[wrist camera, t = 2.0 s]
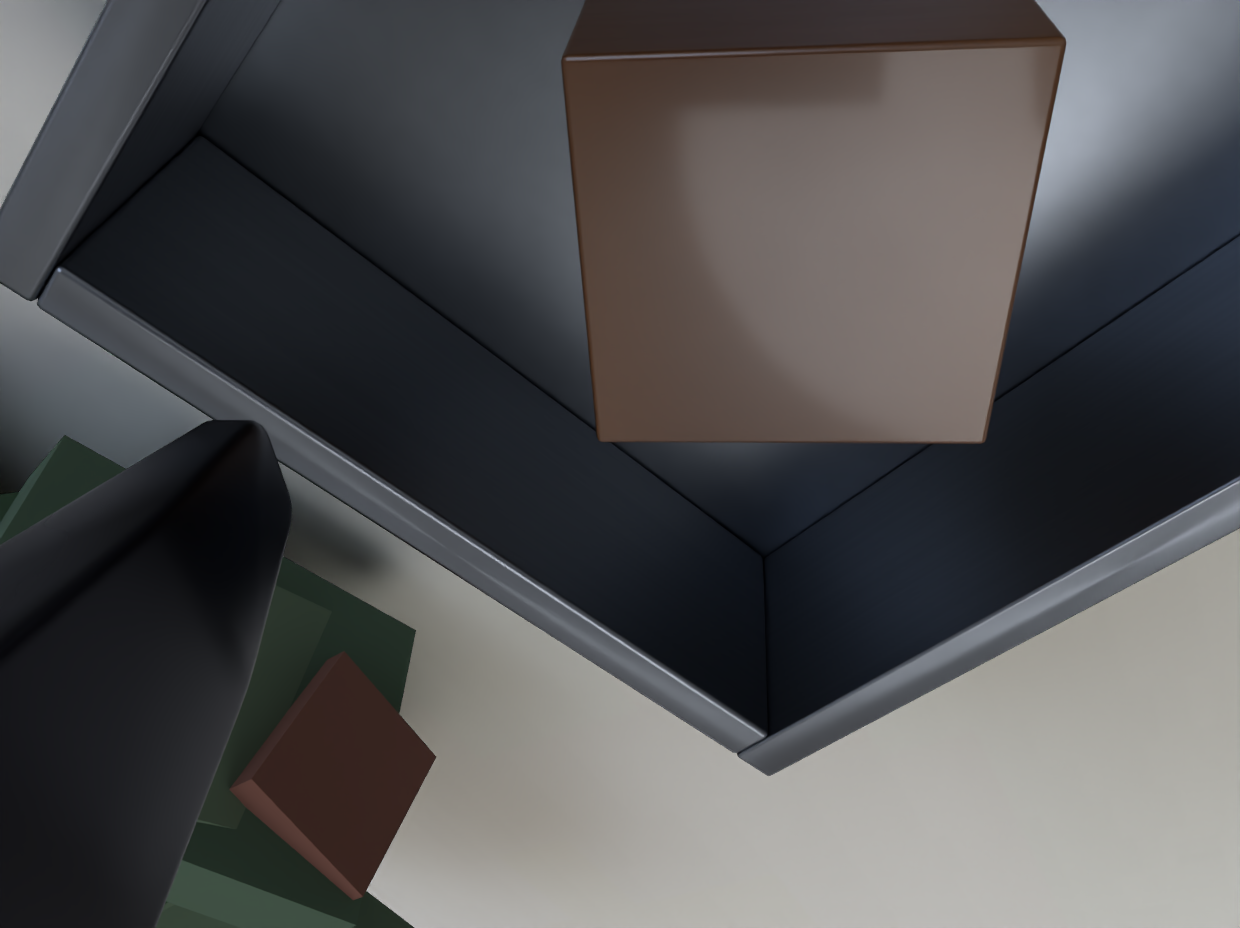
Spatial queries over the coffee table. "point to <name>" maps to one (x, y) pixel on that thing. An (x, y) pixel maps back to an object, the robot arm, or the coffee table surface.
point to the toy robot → (286, 749)
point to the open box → (559, 359)
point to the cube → (804, 212)
